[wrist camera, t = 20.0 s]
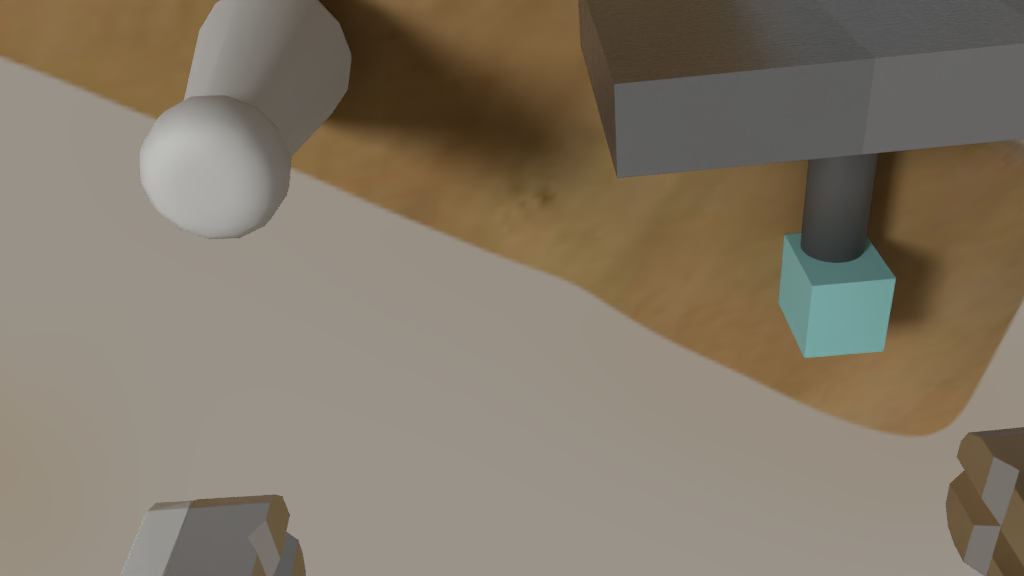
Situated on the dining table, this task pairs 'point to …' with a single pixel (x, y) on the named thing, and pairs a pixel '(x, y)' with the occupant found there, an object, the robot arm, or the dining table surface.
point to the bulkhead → (799, 78)
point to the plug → (836, 264)
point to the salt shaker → (244, 114)
